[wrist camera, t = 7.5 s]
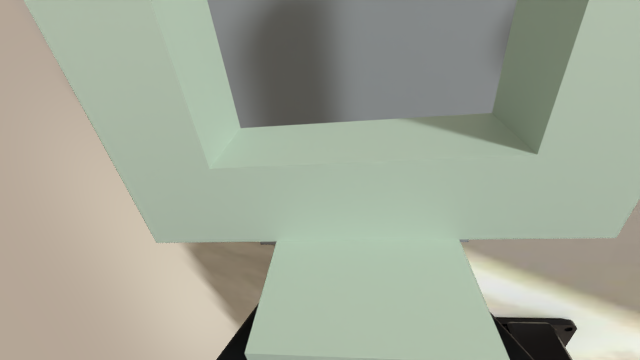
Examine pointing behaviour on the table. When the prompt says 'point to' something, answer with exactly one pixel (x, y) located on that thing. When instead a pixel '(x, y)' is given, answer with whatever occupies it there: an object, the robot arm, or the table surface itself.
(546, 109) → the c link
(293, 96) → the mat
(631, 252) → the table surface
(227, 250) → the table surface
